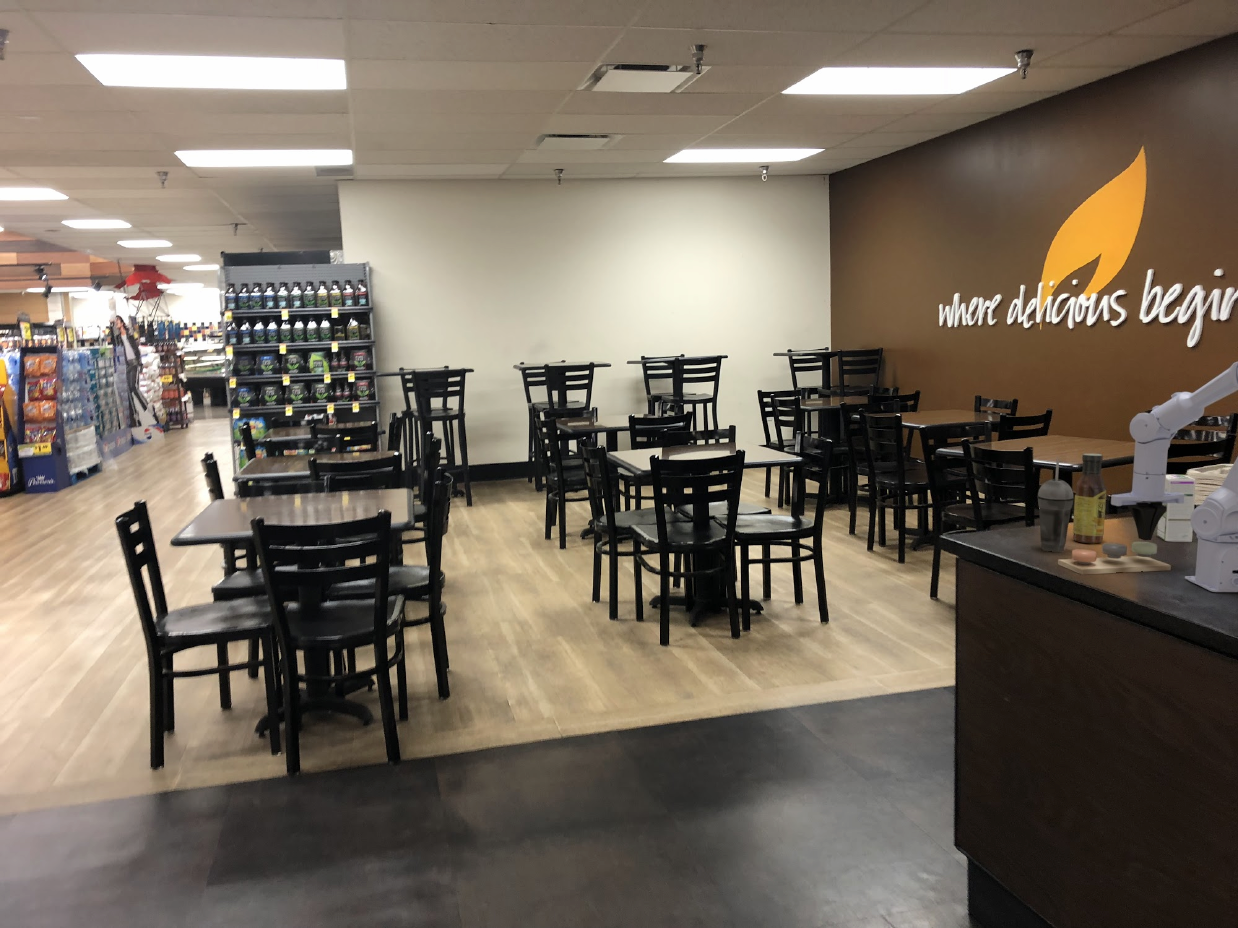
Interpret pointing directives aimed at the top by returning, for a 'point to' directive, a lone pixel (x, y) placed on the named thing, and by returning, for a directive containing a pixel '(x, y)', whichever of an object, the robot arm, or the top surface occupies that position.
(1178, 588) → the top surface
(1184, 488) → the syrup box
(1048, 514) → the beverage cup
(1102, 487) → the sauce bottle
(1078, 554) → the terracotta button
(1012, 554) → the top surface
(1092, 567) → the button board
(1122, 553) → the charcoal button
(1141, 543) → the sage button
